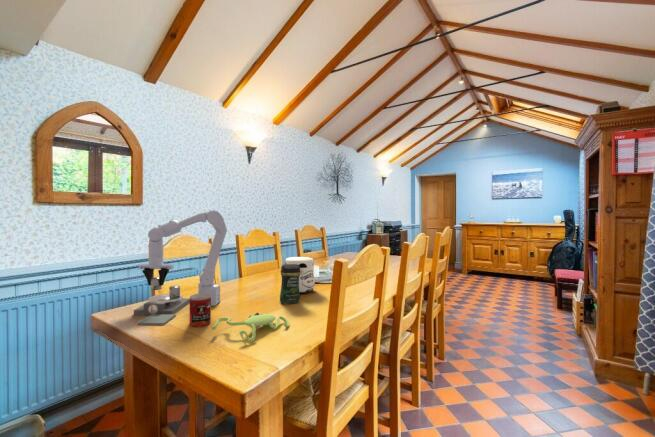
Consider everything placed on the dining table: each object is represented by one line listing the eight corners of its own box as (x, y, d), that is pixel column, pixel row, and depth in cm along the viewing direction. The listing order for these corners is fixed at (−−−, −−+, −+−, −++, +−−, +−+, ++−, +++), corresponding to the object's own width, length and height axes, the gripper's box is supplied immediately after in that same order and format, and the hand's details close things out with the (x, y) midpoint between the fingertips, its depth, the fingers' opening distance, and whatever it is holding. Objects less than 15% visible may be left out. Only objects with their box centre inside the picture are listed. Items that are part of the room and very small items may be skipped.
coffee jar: (281, 305, 148) (282, 266, 147) (278, 300, 155) (278, 263, 154) (301, 303, 151) (302, 265, 150) (297, 299, 158) (297, 262, 158)
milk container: (313, 296, 164) (314, 261, 164) (280, 295, 165) (281, 261, 164) (315, 287, 182) (316, 256, 181) (285, 287, 182) (286, 256, 181)
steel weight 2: (181, 296, 143) (181, 285, 143) (177, 299, 139) (177, 288, 139) (172, 296, 143) (172, 285, 143) (167, 299, 139) (167, 287, 139)
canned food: (190, 328, 117) (190, 299, 117) (188, 321, 124) (188, 294, 124) (211, 325, 121) (212, 297, 120) (209, 319, 128) (209, 292, 127)
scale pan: (187, 294, 148) (187, 293, 148) (173, 303, 134) (173, 302, 134) (157, 294, 148) (157, 293, 148) (140, 303, 134) (140, 302, 134)
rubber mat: (176, 316, 130) (176, 314, 130) (163, 325, 120) (163, 323, 120) (151, 315, 130) (151, 314, 130) (137, 324, 120) (137, 322, 120)
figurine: (205, 336, 112) (205, 320, 112) (262, 316, 133) (262, 303, 133) (239, 350, 101) (239, 333, 101) (294, 326, 123) (294, 312, 123)
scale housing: (190, 302, 149) (190, 292, 149) (172, 315, 131) (172, 304, 131) (156, 302, 149) (156, 292, 149) (133, 315, 130) (133, 304, 130)
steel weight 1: (163, 287, 142) (163, 276, 142) (158, 290, 138) (158, 279, 137) (153, 287, 142) (153, 276, 142) (148, 290, 138) (148, 278, 137)
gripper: (134, 255, 135) (134, 287, 136) (168, 256, 135) (168, 287, 136) (143, 253, 142) (143, 283, 143) (175, 253, 142) (175, 283, 143)
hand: (156, 285), depth 140 cm, fingers closed on steel weight 1, 4 cm apart
